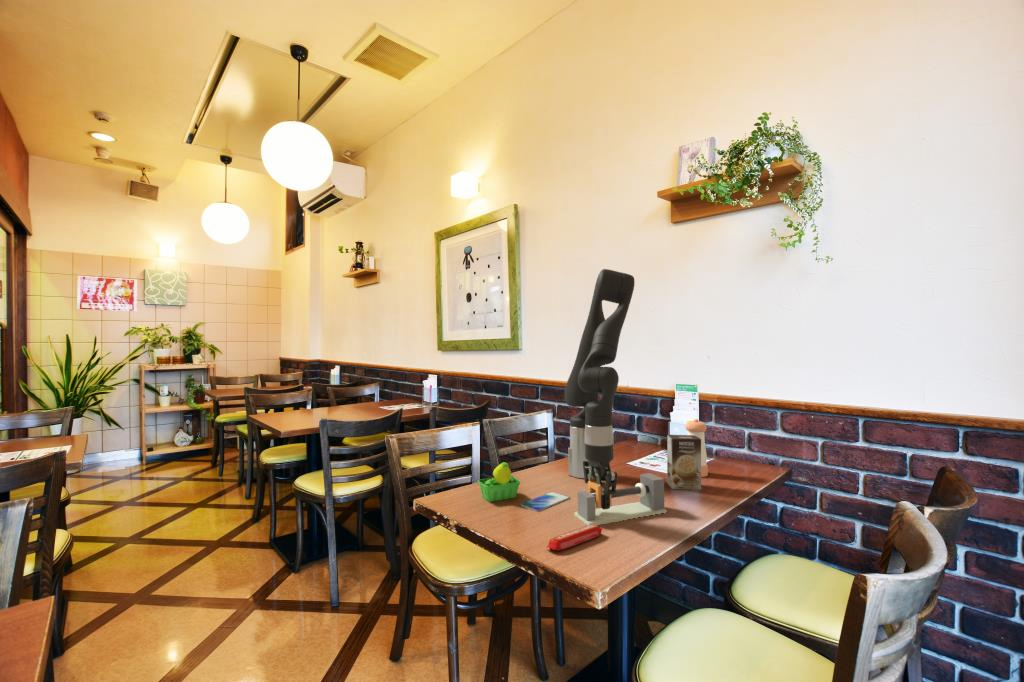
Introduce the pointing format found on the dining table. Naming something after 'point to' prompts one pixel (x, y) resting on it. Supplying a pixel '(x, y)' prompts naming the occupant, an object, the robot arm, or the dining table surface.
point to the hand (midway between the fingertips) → (599, 504)
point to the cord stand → (648, 505)
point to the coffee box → (684, 462)
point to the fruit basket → (499, 484)
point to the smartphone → (544, 501)
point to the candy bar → (574, 537)
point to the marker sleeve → (596, 489)
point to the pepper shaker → (698, 430)
